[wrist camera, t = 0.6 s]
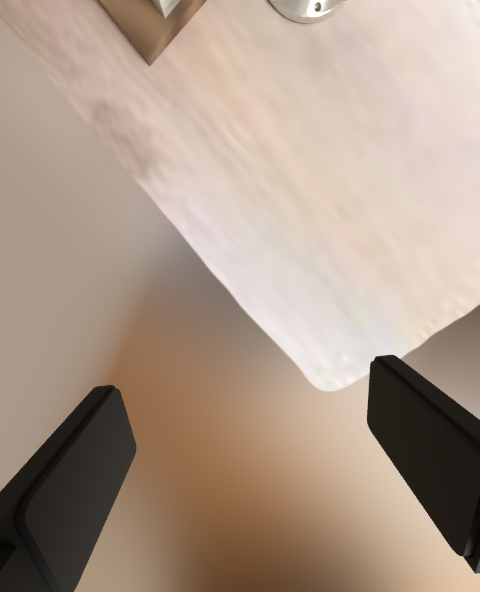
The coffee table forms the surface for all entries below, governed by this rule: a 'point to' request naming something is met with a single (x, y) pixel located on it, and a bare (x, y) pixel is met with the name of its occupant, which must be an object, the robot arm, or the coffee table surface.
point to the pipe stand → (151, 22)
